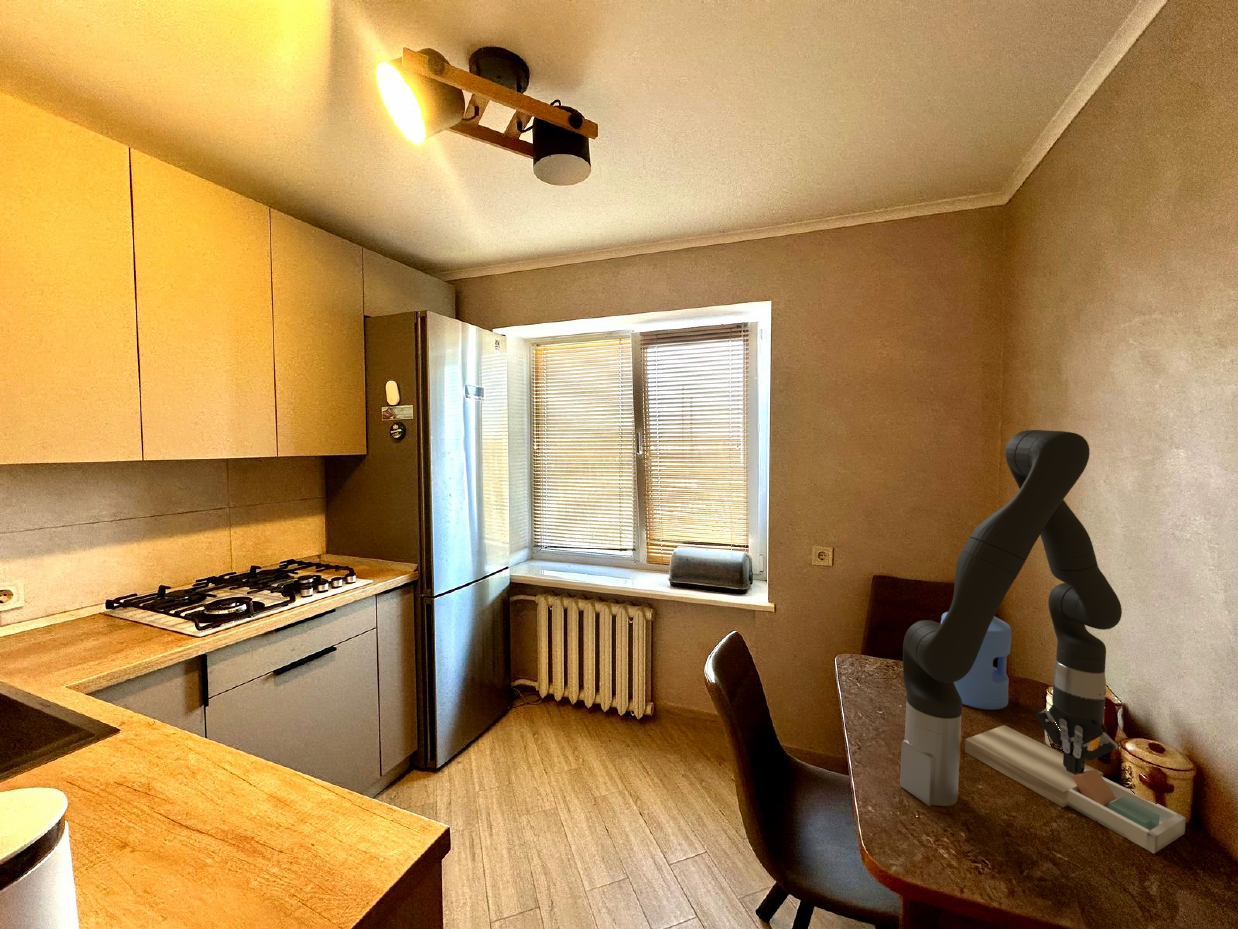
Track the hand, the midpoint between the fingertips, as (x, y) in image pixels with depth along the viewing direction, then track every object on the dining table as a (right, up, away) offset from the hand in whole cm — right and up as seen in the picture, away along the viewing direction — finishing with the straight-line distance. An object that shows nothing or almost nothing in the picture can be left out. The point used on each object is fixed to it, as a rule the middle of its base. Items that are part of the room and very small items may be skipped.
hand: (1073, 772), depth 99 cm
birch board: (-3, -4, +7) cm, 8 cm away
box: (+3, -4, -7) cm, 9 cm away
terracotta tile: (+1, -2, -3) cm, 3 cm away
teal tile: (+4, -2, -8) cm, 9 cm away
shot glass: (+11, -3, +15) cm, 19 cm away
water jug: (+6, -2, +37) cm, 37 cm away
